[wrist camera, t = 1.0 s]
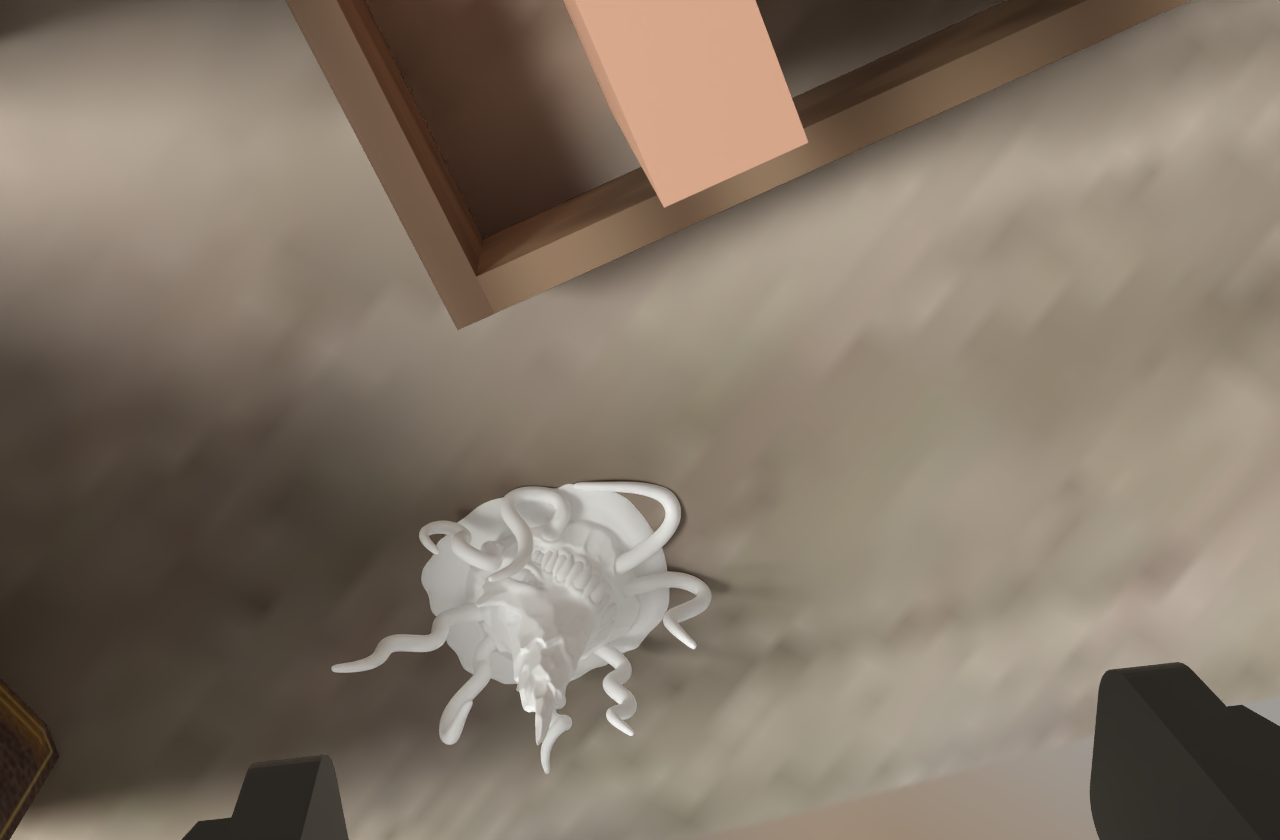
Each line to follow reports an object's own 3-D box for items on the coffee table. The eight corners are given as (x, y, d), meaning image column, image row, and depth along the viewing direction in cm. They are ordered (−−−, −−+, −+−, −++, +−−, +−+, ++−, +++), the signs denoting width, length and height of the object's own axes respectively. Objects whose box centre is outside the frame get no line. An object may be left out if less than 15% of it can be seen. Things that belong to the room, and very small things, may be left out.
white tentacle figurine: (726, 627, 45) (773, 786, 36) (433, 730, 45) (410, 910, 37) (650, 425, 42) (681, 546, 33) (335, 538, 42) (285, 687, 33)
